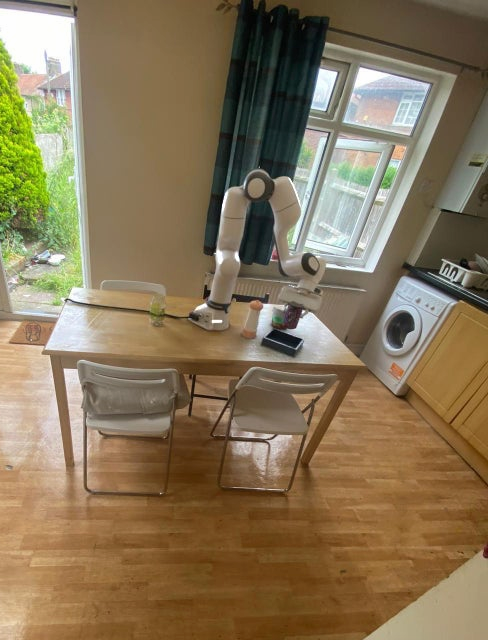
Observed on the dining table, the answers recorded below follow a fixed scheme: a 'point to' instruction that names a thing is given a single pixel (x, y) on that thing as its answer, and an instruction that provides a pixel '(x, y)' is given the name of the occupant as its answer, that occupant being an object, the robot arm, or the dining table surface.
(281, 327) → the food container
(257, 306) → the pepper shaker
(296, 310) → the beverage can
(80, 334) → the dining table surface
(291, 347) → the tray
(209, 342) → the dining table surface
